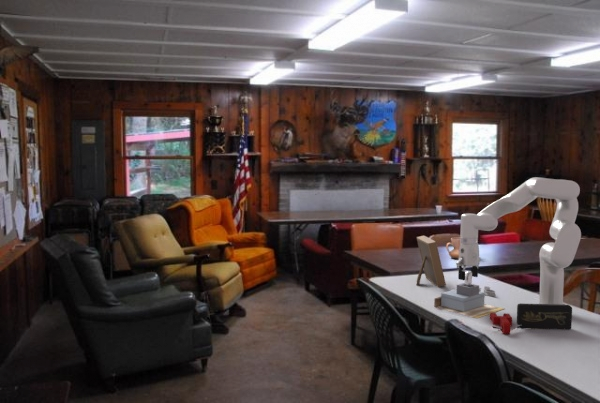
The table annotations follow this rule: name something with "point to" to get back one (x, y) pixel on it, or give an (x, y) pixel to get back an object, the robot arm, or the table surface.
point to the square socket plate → (463, 298)
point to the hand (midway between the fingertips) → (468, 278)
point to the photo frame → (430, 261)
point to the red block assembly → (502, 322)
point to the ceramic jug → (456, 245)
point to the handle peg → (468, 279)
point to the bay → (473, 312)
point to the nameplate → (544, 316)
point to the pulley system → (488, 292)
